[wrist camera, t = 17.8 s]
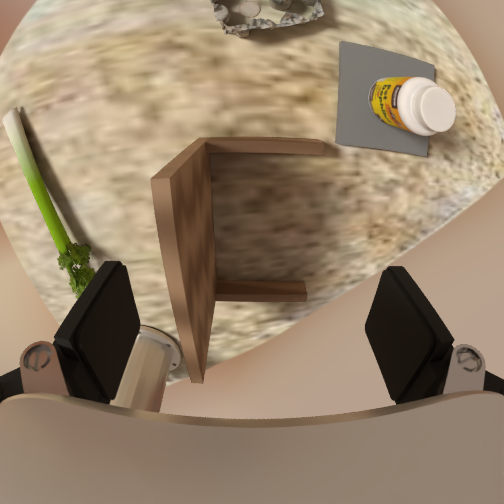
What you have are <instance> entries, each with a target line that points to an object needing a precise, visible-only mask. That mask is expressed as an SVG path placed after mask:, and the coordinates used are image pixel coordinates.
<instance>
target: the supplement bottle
mask: <svg viewBox="0 0 504 504" xmlns="http://www.w3.org/2000/svg"><path fill="white" fill-rule="evenodd" d="M368 99H369V105H370V108H371V110H372V112H373V114H374V115H375V116H376V117H377V118H378V119H379V120H380V121H382V122H384V123H386V124H389V125H392V126H395V127H398V128H401V129H404V130H407V131H410V132H413V133H415V134H418V135H422V136H430V135H434V134H436V133H437V132H444V131H447V130H448V129H450V128H451V126H452V125H453V123H454V121H455V117H456V108H455V103H454V101H453V99H452V97H451V95H450V94H449V93H448V92H447V91H446V90H445V89H443V88H441V87H439V86H438V85H437V84H436V83H435V82H433V81H432V80H430V79H427V78H423V77H387V78H382V79H379V80H377V81H376V82H375V83H374V84H373V85H372V87H371V89H370V91H369V97H368Z"/></svg>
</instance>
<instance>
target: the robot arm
mask: <svg viewBox="0 0 504 504" xmlns="http://www.w3.org/2000/svg"><path fill="white" fill-rule="evenodd" d="M365 332H366V335H367V337H368V340H369V342H370V345H371V347H372V350H373V352H374V355H375V357H376V360H377V363H378V365H379V368H380V370H381V373H382V375H383V378H384V381H385V383H386V386H387V389H388V392H389V394H390V397H391V399H392V400H393V401H395V402H396V405H393V406H388V407H383V408H377V409H371V410H365V411H359V412H352V413H344V414H336V415H327V416H315V417H302V418H285V419H223V418H206V417H205V418H204V417H192V416H181V415H172V414H163V413H159V412H160V408H161V403H162V399H163V394H164V390H165V386H166V381H167V377H168V373H169V371H172V370H174V369H176V368H177V367H178V365H179V364H180V360H181V352H180V349H179V347H178V346H177V344H176V343H175V342H174V341H173V340H172V339H171V338H170V337H168V336H167V335H165V334H164V333H162V332H160V331H158V330H156V329H153V328H150V327H146V326H140V319H139V315H138V311H137V308H136V304H135V300H134V296H133V292H132V288H131V284H130V280H129V276H128V272H127V268H126V266H125V265H122V263H121V262H120V261H105V262H104V263H103V264H102V266H101V267H100V269H99V270H98V271H97V273H96V274H95V275H94V277H93V278H92V280H91V281H90V282H89V284H88V285H87V287H86V288H85V290H84V291H83V292H82V294H81V295H80V297H79V298H78V300H77V301H76V303H75V304H74V306H73V307H72V309H71V310H70V312H69V313H68V315H67V316H66V318H65V320H64V321H63V323H62V324H61V326H60V328H59V329H58V331H57V332H56V334H55V336H54V338H55V341H54V342H53V344H51V343H50V342H47V341H39V342H35V343H33V344H31V345H29V346H28V347H27V348H26V349H25V350H24V351H23V353H22V355H21V358H20V367H19V368H17V369H15V370H13V371H11V372H9V373H7V374H4V375H2V376H0V504H504V380H503V379H501V378H499V377H498V376H496V375H494V374H491V373H490V372H488V371H486V370H485V360H484V358H483V356H482V354H481V353H480V352H479V351H478V350H477V349H476V348H474V347H472V346H470V345H467V344H460V345H458V346H456V347H455V348H453V346H452V343H453V341H454V338H453V337H452V335H451V334H450V332H449V330H448V329H447V327H446V326H445V324H444V323H443V321H442V320H441V318H440V317H439V315H438V314H437V312H436V311H435V309H434V308H433V306H432V305H431V304H430V302H429V301H428V299H427V298H426V296H425V295H424V294H423V293H422V291H421V290H420V288H419V287H418V285H417V284H416V283H415V281H414V280H413V279H412V277H411V276H410V275H409V273H408V272H407V271H406V269H405V268H404V267H402V266H389V267H387V269H386V270H384V271H383V272H382V275H381V278H380V282H379V285H378V288H377V291H376V294H375V297H374V300H373V303H372V306H371V309H370V312H369V315H368V318H367V321H366V324H365Z"/></svg>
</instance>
